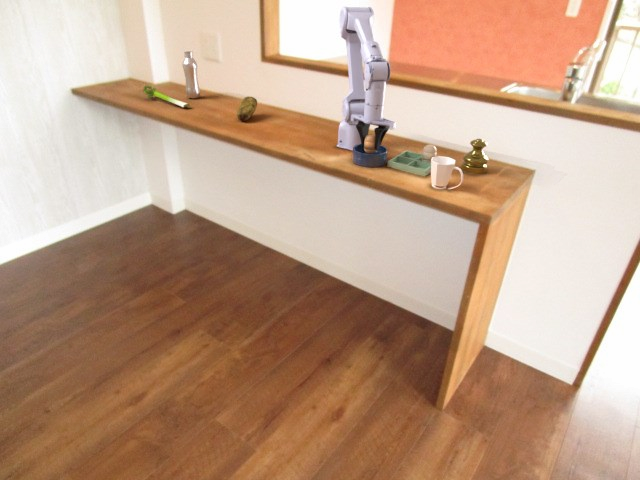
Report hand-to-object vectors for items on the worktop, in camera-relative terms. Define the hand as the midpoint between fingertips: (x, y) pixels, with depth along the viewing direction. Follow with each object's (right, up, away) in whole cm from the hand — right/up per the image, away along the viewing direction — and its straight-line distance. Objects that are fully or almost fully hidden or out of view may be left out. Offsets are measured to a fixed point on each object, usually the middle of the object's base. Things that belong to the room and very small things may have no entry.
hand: (370, 147), depth 145 cm
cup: (+19, -15, -14) cm, 28 cm away
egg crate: (+14, -6, 0) cm, 15 cm away
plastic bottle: (-75, +37, +69) cm, 108 cm away
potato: (-46, +20, +42) cm, 65 cm away
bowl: (0, -4, +2) cm, 5 cm away
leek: (-84, +32, +60) cm, 108 cm away
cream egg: (+18, -5, +1) cm, 19 cm away
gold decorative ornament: (+32, -8, -1) cm, 33 cm away
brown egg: (0, -2, +1) cm, 2 cm away
